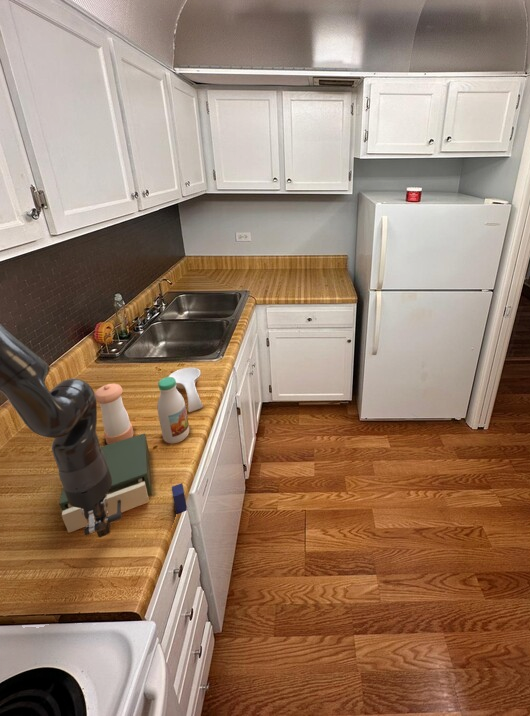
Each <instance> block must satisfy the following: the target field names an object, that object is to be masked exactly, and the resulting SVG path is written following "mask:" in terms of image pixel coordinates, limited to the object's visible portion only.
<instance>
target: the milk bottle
mask: <svg viewBox="0 0 530 716" xmlns="http://www.w3.org/2000/svg"><path fill="white" fill-rule="evenodd" d="M157 384H158V385H157V386H158V390H159V393H160V394H159V398H158V400H157V403H156V404H157V416H158V421H159V426H160V431H161V436H162V439H163V441H164V442H166V443H168V444H179V443H181V442H182V441H184V440H185V439H186V438H187V437H188V436H189V433H190V425H189V417H188V412H187V407H186V406H187V405H186V402H185V399H184V397H183V395H182V393H181V392H180V391H178V388H177V387H176V381H175V379H174V378H173V377H169V376H166V377H163V378H161V379H159V381H158V383H157Z"/></svg>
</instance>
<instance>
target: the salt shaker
mask: <svg viewBox="0 0 530 716" xmlns="http://www.w3.org/2000/svg"><path fill="white" fill-rule="evenodd" d="M123 390H124V389H123V388H122V386H121V385H120V384H118V383H108V384H107V383H106V384H105V385H102V386H100V387H99V388H97V390H96V391H95V392H94V393H95V397H96V402H97V403H98V404H99V406H100V411H101V418H102V420H101V421H102V426H103V430H104V434H103V436H104V439H105V442H106V445H108V444H111V443H115V442H118V441H121V440H125V439H128V438H131V437H134V436H135V435H134V428H133V424H132V421H130V417H129V414H128V412H127V410H126V408H125V405H124V402H123V399H122V395H123V392H124V391H123Z"/></svg>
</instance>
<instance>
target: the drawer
mask: <svg viewBox="0 0 530 716" xmlns="http://www.w3.org/2000/svg"><path fill="white" fill-rule="evenodd" d="M107 500H108V507H107V511H108V520H109V523H110V524H112V523H114V522H117V521H119V520H122V518H123V517H122V516H123V515H122V513H124V512H127V511H130V510H133V509H134V508H137V507H140V506H142V505H145V504H148V503H149V502H150V496H148V493H147V489H146V484H145V480H144V477H142V478H139V479H136V480H133V481H130V482H128V483H125V484H122V485H119V486H116V487H113V488H111V489H109V491H108V492H107ZM68 507H69V509H66V510H63V511H62V510H61V518H62V521H63V523H64V525H65V528H66V530H67V533H68V534H69V533H72V532H74V531H78V530H80V529H82V528H86V525H89V523H88V522H87V520H86V518H85V516H84V515H83V514H82V512H81V508H78V507H73V506H71V505H70V504H69V503H68Z"/></svg>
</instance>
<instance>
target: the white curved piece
mask: <svg viewBox="0 0 530 716" xmlns="http://www.w3.org/2000/svg"><path fill="white" fill-rule="evenodd" d="M201 374H202V373H201V370H200V369H199V368H197V367H193V366H191V367H189V366H188V367H184V368H180V369H177V370H175V371H173V372H171V373H170V374H169V375H168V377H173V378H174V379H175V381H176V389H180V390H185V392H186V393H185V394H186V396H187V411H188V412H187V413H192V412H195V411H198V410H201V409H203V406H204V405H203V403H202V400H201V398H200V396H199V393H198V390H197V387H196V383H197V382H198V380H199V379H200V377H201Z"/></svg>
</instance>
